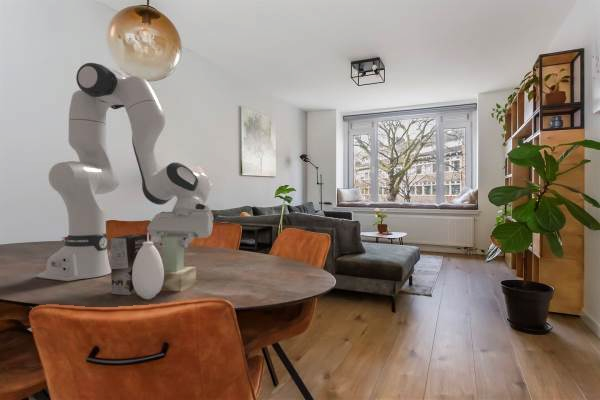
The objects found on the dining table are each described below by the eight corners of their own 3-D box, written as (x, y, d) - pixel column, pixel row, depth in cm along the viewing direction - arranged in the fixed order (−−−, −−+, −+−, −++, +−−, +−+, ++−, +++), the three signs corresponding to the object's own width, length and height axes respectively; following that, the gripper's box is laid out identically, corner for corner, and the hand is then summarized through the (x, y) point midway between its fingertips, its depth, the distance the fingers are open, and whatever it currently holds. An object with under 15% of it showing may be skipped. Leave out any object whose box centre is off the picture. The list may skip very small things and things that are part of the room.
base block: (149, 290, 103) (148, 273, 103) (166, 281, 113) (166, 265, 112) (181, 291, 101) (181, 274, 101) (196, 282, 111) (196, 266, 111)
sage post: (162, 271, 105) (162, 238, 105) (170, 268, 109) (169, 236, 109) (176, 271, 104) (176, 238, 104) (183, 268, 109) (183, 236, 108)
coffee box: (130, 295, 97) (129, 237, 97) (110, 294, 99) (109, 237, 98) (150, 286, 106) (150, 234, 106) (132, 285, 107) (131, 233, 107)
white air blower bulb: (140, 305, 89) (139, 234, 89) (127, 298, 94) (126, 232, 94) (169, 298, 95) (168, 232, 95) (155, 292, 100) (155, 230, 100)
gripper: (153, 205, 115) (135, 239, 105) (213, 206, 112) (200, 240, 102) (161, 218, 119) (144, 251, 110) (218, 218, 116) (206, 253, 107)
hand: (172, 246), depth 106 cm, fingers open, 6 cm apart
